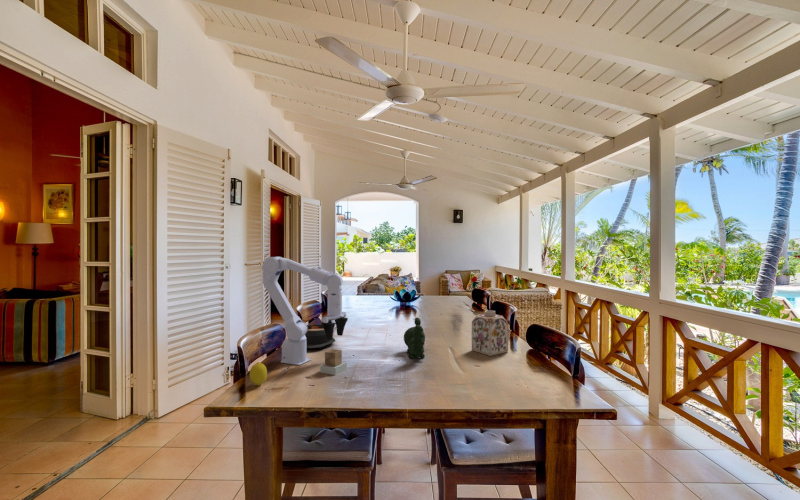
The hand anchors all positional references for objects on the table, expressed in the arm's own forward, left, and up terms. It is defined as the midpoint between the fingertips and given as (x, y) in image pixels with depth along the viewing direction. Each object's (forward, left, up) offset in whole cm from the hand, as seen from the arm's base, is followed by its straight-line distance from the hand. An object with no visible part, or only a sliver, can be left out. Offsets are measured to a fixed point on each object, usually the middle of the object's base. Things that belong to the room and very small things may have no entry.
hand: (334, 337), depth 158 cm
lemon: (-9, -33, -10) cm, 36 cm away
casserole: (-23, +19, -10) cm, 32 cm away
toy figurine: (+27, +21, -10) cm, 36 cm away
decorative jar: (+55, +40, -10) cm, 69 cm away
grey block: (+6, -10, -10) cm, 16 cm away
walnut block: (+6, -10, -7) cm, 14 cm away
